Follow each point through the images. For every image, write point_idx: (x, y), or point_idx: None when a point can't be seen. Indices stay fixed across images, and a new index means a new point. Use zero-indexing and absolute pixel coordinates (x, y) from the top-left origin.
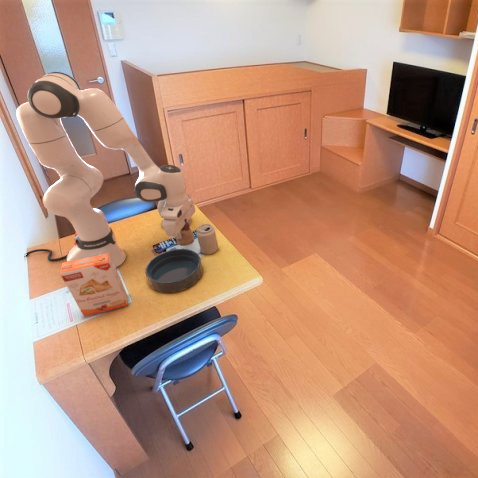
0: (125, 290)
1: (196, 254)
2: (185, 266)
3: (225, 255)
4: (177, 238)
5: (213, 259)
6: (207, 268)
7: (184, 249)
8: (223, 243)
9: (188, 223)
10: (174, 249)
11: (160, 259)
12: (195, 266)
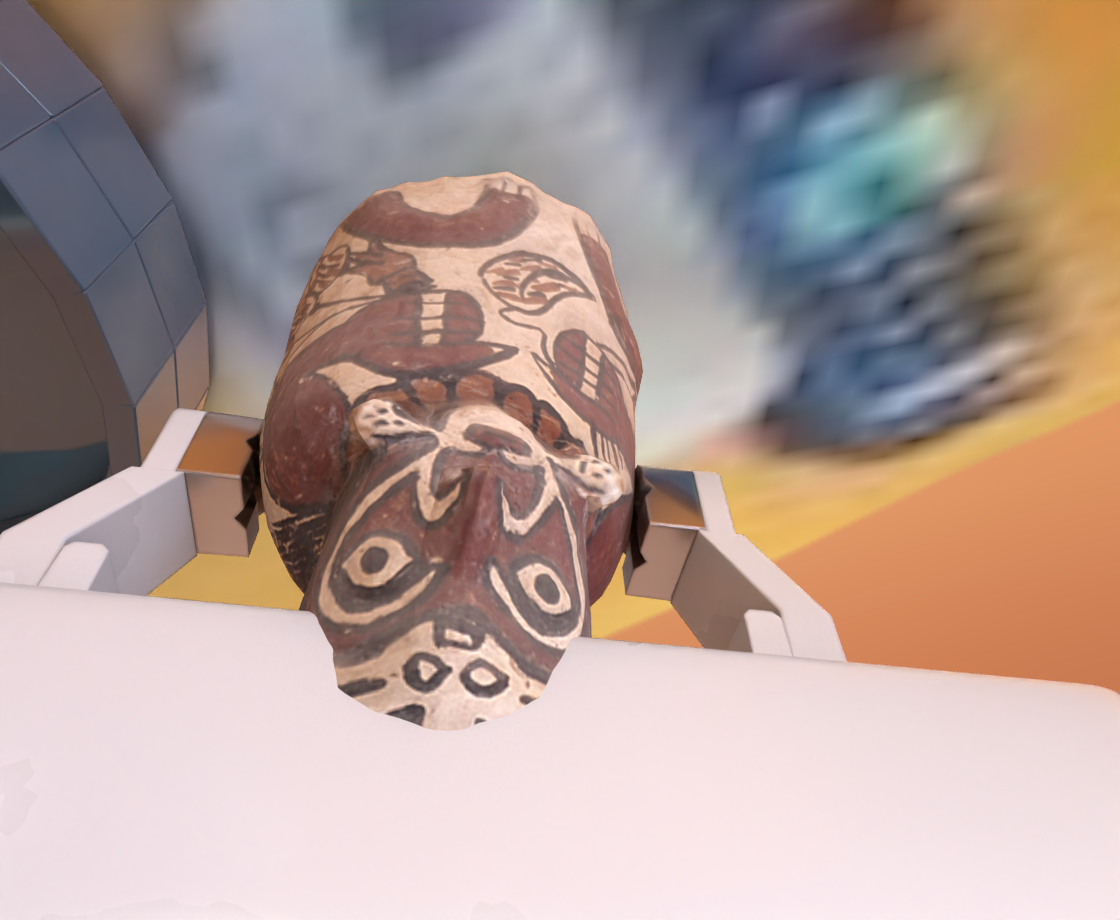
0: None
1: None
2: (14, 347)
3: None
4: (313, 308)
5: (284, 589)
6: None
7: (120, 432)
8: (599, 626)
9: (685, 591)
10: (55, 256)
11: None
12: (65, 465)
